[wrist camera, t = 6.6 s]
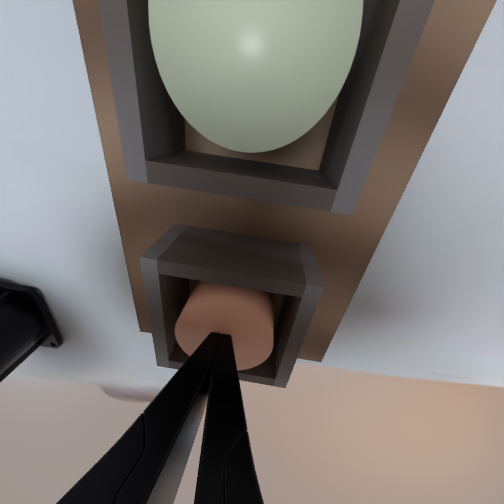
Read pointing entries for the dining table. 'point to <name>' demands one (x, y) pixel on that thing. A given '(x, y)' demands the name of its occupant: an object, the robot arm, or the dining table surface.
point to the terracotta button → (229, 321)
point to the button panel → (269, 173)
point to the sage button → (254, 64)
